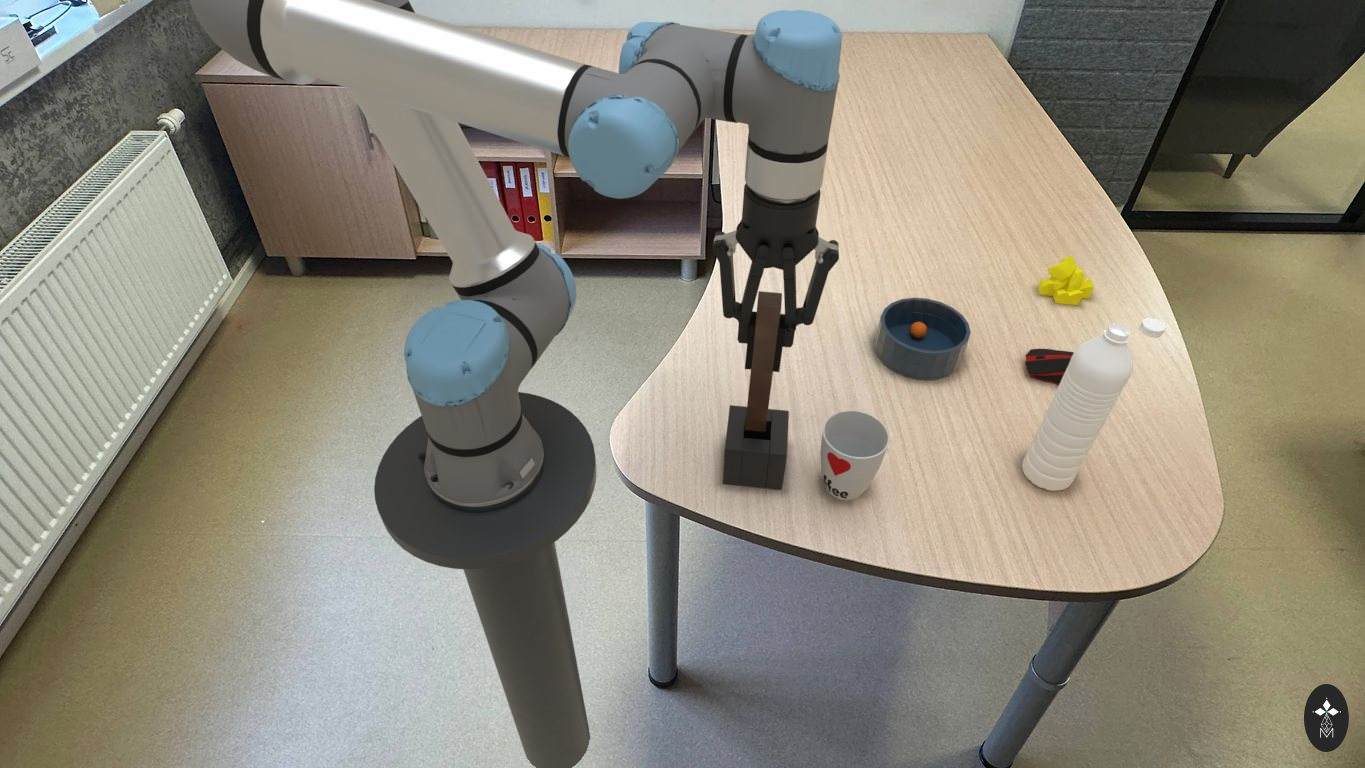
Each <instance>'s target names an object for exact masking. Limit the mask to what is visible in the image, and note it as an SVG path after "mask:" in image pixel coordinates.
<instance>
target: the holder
mask: <svg viewBox="0 0 1365 768" xmlns="http://www.w3.org/2000/svg"><path fill="white" fill-rule="evenodd" d="M728 409H729V410H728V418H727V426H726V435H725V443H724V445H725V446H724V453H723V454H724V456H723V468H722V469H723V471H722V485H728V486H737V487H738V486H739V487H747V488H748V487H749V488H757V489H766V490H767V489H768V490H777V491H782V490H783V484H784V479H785V472H786V465H787V457H788V440H789V420H790V419H789V417H790V412H789V410H786V409H785V410H784V409H783V410H782V409H773V408H768V415H767V423H766V431H765V432H762V431H752V430H745V423H746V413H747V406H743V405H732V404H731V405H729V408H728Z"/></svg>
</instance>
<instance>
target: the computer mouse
mask: <svg viewBox="0 0 1365 768" xmlns="http://www.w3.org/2000/svg"><path fill="white" fill-rule="evenodd" d="M1074 352H1075V351H1067V350H1058V349H1051V348H1050V349H1049V348H1030V349H1029V350H1028V352H1027V353H1026V354H1025V361H1024V364H1025V368H1026V371H1027V374H1028V376H1029V377H1030V378H1031V379H1033V380H1034V379H1035V380H1038V381H1040V382H1046V383H1050V384H1054V385H1056V386H1057V387H1058V386H1059V384H1060V382H1061V380H1062V378H1063V376H1064V373H1065V371H1066V369H1067V367H1068V365H1069V362H1070V360H1071V357H1072V355H1073V353H1074Z"/></svg>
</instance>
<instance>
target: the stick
mask: <svg viewBox="0 0 1365 768" xmlns="http://www.w3.org/2000/svg"><path fill="white" fill-rule="evenodd" d="M782 301H783V293H782V292H773V291H762V290H758V292H757V303H756V304H757V305H756V312H757V313H756V324H755V326H756V327H755V337H754V346H753V356H752V366H751V369H750V373H749V374H750V375H749V383H748V393H747V403H746V407H747V413H746V423H745V430H752V431H762V432H765V431H766V423H767V415H768V409H769V408H770V407H769V406H770V400H771V399H770V398H771V390H772V383H773V375H774V372H773V366H774V358H775V351H776V343H777V335H778V328H779V321H780V314H782V313H781V312H782Z"/></svg>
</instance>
